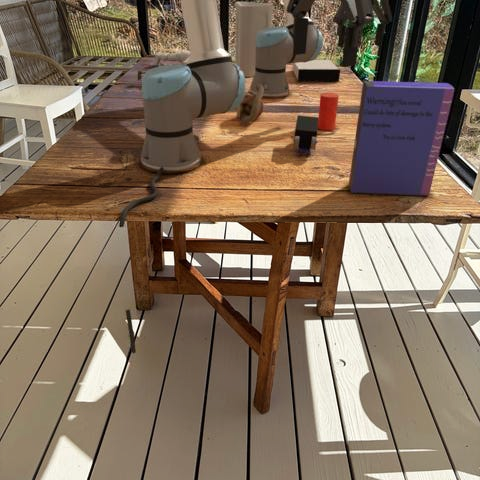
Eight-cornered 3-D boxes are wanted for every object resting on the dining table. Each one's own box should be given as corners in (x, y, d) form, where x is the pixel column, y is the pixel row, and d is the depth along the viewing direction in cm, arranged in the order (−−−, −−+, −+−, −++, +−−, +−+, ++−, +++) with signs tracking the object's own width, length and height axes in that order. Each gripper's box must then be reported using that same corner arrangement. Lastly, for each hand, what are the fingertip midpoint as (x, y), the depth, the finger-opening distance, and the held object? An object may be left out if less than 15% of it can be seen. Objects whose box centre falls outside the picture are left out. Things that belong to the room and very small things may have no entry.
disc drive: (297, 81, 203) (298, 69, 200) (291, 70, 222) (292, 58, 220) (338, 81, 203) (340, 69, 201) (329, 70, 223) (330, 59, 220)
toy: (173, 74, 211) (173, 58, 207) (150, 64, 229) (148, 49, 225) (220, 68, 223) (220, 53, 219) (194, 59, 240) (194, 44, 237)
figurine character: (316, 163, 128) (316, 138, 139) (319, 137, 123) (319, 114, 135) (291, 161, 128) (293, 137, 140) (293, 135, 124) (295, 112, 135)
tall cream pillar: (273, 76, 210) (276, 6, 196) (239, 77, 209) (240, 6, 194) (266, 67, 226) (268, 2, 212) (235, 67, 225) (235, 1, 210)
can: (330, 124, 153) (333, 92, 148) (337, 129, 148) (341, 96, 143) (314, 125, 151) (317, 93, 146) (321, 131, 147) (325, 97, 142)
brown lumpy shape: (251, 126, 162) (245, 130, 148) (232, 108, 161) (224, 111, 147) (276, 97, 158) (272, 99, 144) (257, 79, 157) (251, 79, 143)
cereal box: (423, 187, 112) (447, 82, 100) (428, 195, 108) (454, 87, 96) (348, 184, 113) (363, 79, 101) (351, 192, 109) (367, 85, 96)
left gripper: (411, -76, 73) (387, 69, 84) (303, -72, 90) (295, 48, 101) (377, -78, 69) (357, 74, 80) (272, -73, 86) (267, 51, 97)
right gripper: (338, -28, 139) (330, 49, 150) (411, -27, 146) (398, 46, 157) (327, -29, 145) (319, 45, 156) (398, -29, 152) (386, 42, 163)
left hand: (322, 59), depth 90 cm, fingers open, 13 cm apart
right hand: (359, 46), depth 157 cm, fingers open, 13 cm apart
